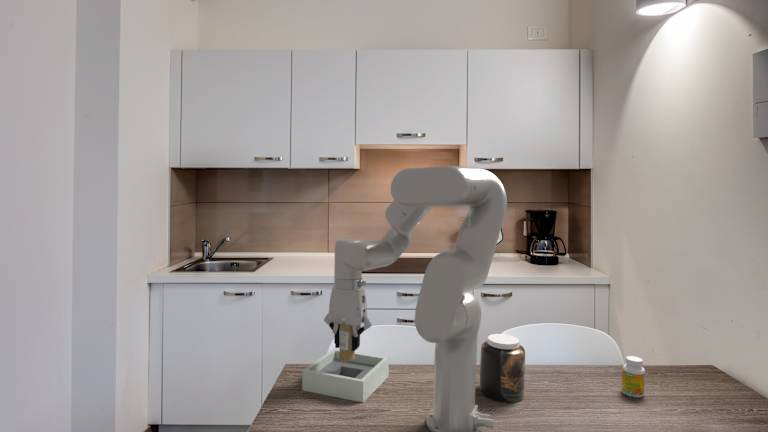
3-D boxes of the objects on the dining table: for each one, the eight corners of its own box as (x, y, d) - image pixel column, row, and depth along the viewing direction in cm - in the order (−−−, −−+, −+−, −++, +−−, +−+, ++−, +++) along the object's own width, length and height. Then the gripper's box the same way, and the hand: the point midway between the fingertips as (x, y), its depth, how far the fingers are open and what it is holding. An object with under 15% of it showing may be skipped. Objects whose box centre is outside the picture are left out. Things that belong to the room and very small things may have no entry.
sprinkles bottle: (357, 360, 131) (358, 312, 130) (343, 363, 129) (344, 315, 128) (349, 354, 135) (350, 308, 134) (335, 357, 132) (336, 310, 131)
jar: (474, 397, 124) (476, 341, 123) (484, 380, 135) (486, 329, 134) (520, 406, 120) (522, 349, 118) (527, 388, 130) (529, 335, 129)
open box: (388, 376, 137) (388, 357, 137) (363, 402, 121) (363, 381, 120) (333, 366, 144) (333, 348, 143) (302, 390, 127) (302, 370, 127)
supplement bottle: (621, 395, 127) (623, 360, 126) (621, 387, 132) (623, 353, 131) (643, 399, 124) (645, 363, 124) (643, 391, 129) (645, 357, 129)
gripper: (381, 283, 130) (380, 348, 132) (327, 278, 137) (326, 339, 138) (370, 289, 124) (369, 357, 125) (314, 283, 130) (313, 347, 131)
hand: (347, 347), depth 132 cm, fingers closed on sprinkles bottle, 4 cm apart
